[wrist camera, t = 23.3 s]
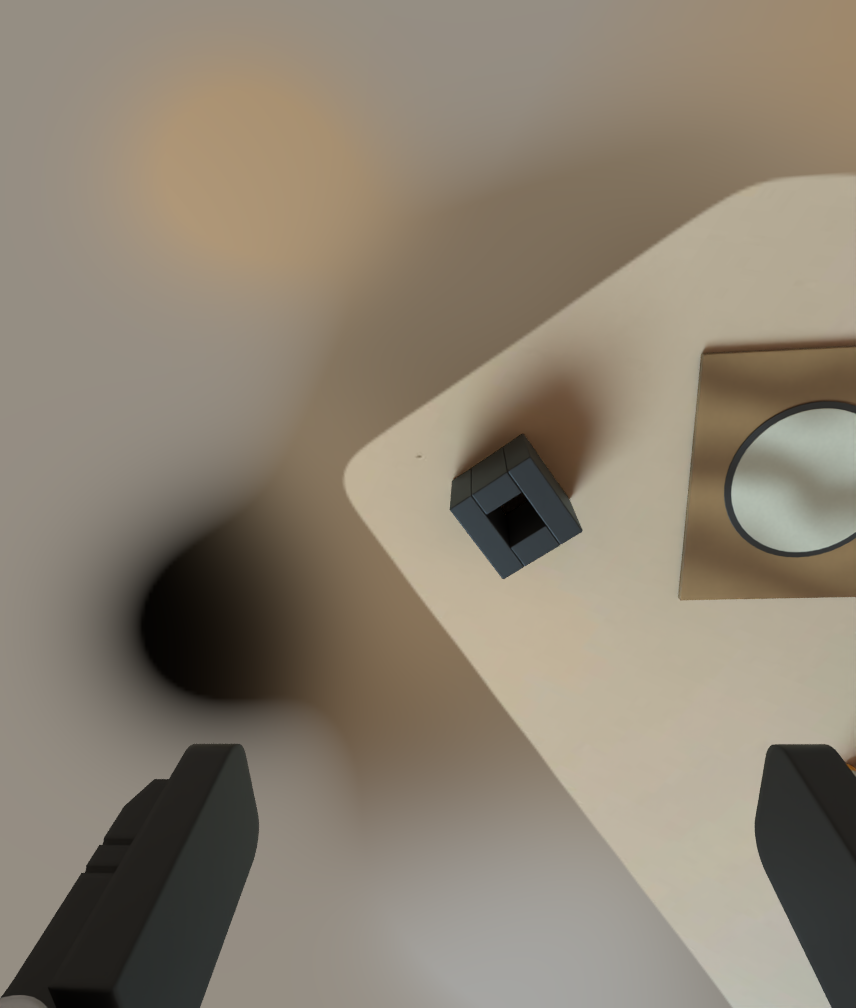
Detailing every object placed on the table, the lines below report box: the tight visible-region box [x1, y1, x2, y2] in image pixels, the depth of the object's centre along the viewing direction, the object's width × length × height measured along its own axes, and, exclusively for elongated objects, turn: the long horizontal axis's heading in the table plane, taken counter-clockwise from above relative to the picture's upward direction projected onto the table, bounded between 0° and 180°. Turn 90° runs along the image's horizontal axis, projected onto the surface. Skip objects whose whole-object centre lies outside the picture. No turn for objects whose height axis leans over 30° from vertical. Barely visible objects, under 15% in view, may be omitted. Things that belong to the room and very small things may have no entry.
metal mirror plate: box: [678, 346, 856, 600], centre depth 38 cm, size 16×14×1 cm
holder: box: [450, 434, 582, 579], centre depth 37 cm, size 5×5×5 cm
